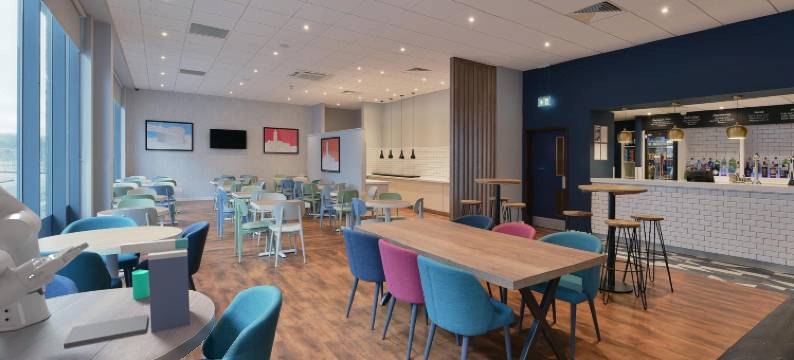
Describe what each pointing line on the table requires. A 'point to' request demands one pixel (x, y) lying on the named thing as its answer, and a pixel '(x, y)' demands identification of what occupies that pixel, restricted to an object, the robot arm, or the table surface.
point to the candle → (140, 284)
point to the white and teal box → (154, 245)
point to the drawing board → (106, 330)
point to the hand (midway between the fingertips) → (84, 247)
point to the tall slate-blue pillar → (168, 289)
